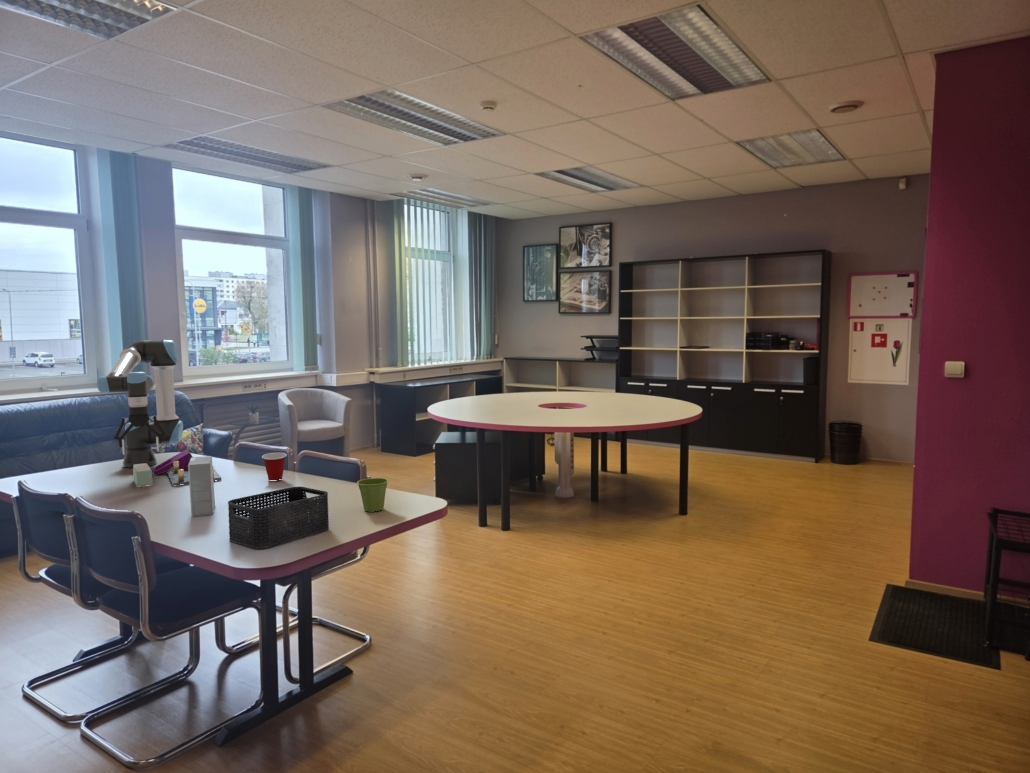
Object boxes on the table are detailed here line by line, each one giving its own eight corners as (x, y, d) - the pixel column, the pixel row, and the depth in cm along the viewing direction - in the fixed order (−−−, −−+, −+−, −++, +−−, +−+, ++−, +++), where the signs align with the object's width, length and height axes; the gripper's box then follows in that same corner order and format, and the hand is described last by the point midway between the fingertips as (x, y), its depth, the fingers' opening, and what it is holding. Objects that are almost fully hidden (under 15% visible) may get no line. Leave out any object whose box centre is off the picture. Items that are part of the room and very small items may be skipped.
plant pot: (389, 505, 261) (388, 476, 260) (389, 513, 250) (389, 483, 249) (358, 507, 259) (357, 478, 258) (357, 515, 247) (356, 485, 246)
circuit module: (133, 481, 309) (132, 464, 309) (148, 479, 313) (147, 462, 312) (137, 488, 296) (136, 470, 296) (152, 486, 300) (151, 468, 299)
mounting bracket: (163, 487, 322) (198, 466, 332) (154, 472, 320) (189, 452, 329) (159, 483, 330) (193, 463, 339) (149, 469, 327) (184, 449, 336)
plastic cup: (261, 483, 301) (260, 457, 300) (264, 478, 311) (263, 453, 310) (286, 482, 303) (285, 456, 302) (288, 477, 314) (287, 452, 313)
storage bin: (298, 520, 242) (297, 484, 241) (333, 529, 231) (332, 491, 229) (225, 541, 219) (223, 501, 218) (259, 552, 207) (257, 510, 206)
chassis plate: (167, 474, 323) (166, 461, 322) (212, 469, 333) (211, 456, 333) (173, 486, 298) (172, 472, 297) (221, 480, 308) (220, 466, 308)
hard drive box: (193, 507, 262) (191, 457, 260) (215, 505, 264) (212, 455, 263) (190, 517, 247) (187, 464, 246) (213, 515, 250) (210, 462, 248)
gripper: (106, 408, 292) (109, 456, 293) (170, 404, 305) (172, 450, 306) (105, 407, 298) (108, 454, 300) (168, 403, 311) (171, 448, 313)
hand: (141, 452), depth 303 cm, fingers open, 13 cm apart
